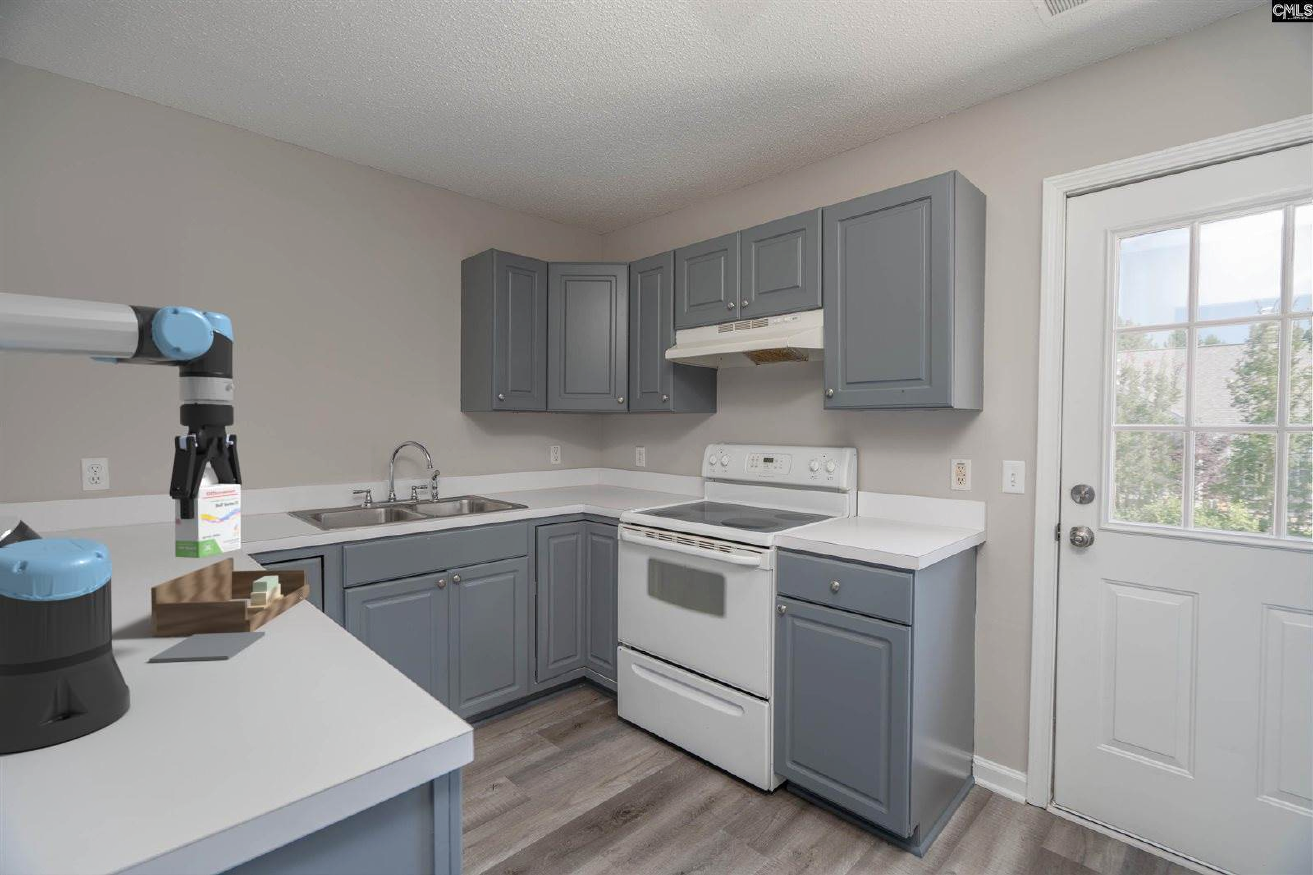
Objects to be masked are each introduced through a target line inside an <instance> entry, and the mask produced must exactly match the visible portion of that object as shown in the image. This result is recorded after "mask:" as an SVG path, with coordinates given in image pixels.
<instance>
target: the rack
mask: <svg viewBox="0 0 1313 875" xmlns="http://www.w3.org/2000/svg"><path fill="white" fill-rule="evenodd" d="M306 574H307V570H306V569H305V568H304V569H303V568H301V569H300V568H299V569H267V570H266V569H265V570H263V569H261V570H260V569H259V570H258V569H257V570H234V557H228V558H225V559H223V560H220V561H218V562H215V563H212V564H210V565H207V566H205V567H202V568H199V569H197V570H194V571H192V572H189V573H187V574H183V575H181V576H178V577H175V578H174V579H170V580H168V581H165V582H163V583H160V584H158V585H155V586H152V587H151V588H150V591H151V595H150V596H151V601H150V603H151V605H150V606H151V637H177V636H178V637H181V636H183V637H184V636H192V635H194V634H214V633H242V632H255V631H256V630H258V629H259V628H261V627H262V626H264V625H266V624H267V623H269V622H270V621H271V620H273V619H275V618H276V617H279V616H280V615H281V614H283V613H285V612H286V611H287V610H290V609H291V608H292V607H294V606H296V605H297V604H299V603H301V602H302V601H303V600H305V599H307V598H308V597H310V594H311V592H310V586H311V585H310V584H307V580H306V579H307V578H306V577H307V576H306ZM264 576H278V584H280V592H281V595H283V598H282V599H280V600H279V601H277V602H275V603H274V604H272V605H270V606H269V607H267V608H265V609H263V610H262V611H260V612H258V613H257V614H255V615H253V616H251V617H250V618H248V619H247V608H248V599H251V593H252V592H253V582H254V581H256V580H258V579H260V578H262V577H264ZM300 597H301V598H302V599H303V600H302V599H301V598H300ZM234 599H244V600H234ZM246 599H247V600H246Z"/></svg>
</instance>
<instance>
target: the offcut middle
mask: <svg viewBox="0 0 1313 875" xmlns="http://www.w3.org/2000/svg"><path fill="white" fill-rule="evenodd" d="M280 595H281V592H280V584H278V586H276V587H274V588H272V589H271V590H269V591H267V592H252V593H251V598H250V606H257V605H267V604H269V603H270V602H271V601H273V600H274V599H276V598H277V597H279V596H280Z"/></svg>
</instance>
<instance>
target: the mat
mask: <svg viewBox="0 0 1313 875" xmlns="http://www.w3.org/2000/svg"><path fill="white" fill-rule="evenodd" d="M265 635H266V631H253V632H242V633H214V634H194V635H189V637H187V638H185V639H183V640H181V641H179V642H178V643H176V644H174V645H173V646H171V647H169V648H166V649H165V650H163V651H160V652H159V653H157V654H156V655H154V656H152V657H150V658H149V659H148V662H149V663H150V664H151V663H172V662H173V663H174V662H175V663H176V662H198V661H221V660H222V661H225V660H230V659H231V658H232V657H234V656H236V655H237V654H239V653H240V652H241V651H244V650H245V649H246V648H248V647H249V646H250V645H252V644H254V643H255V642H257V641H258V640H260V639H261V638H263V637H264V636H265Z"/></svg>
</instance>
